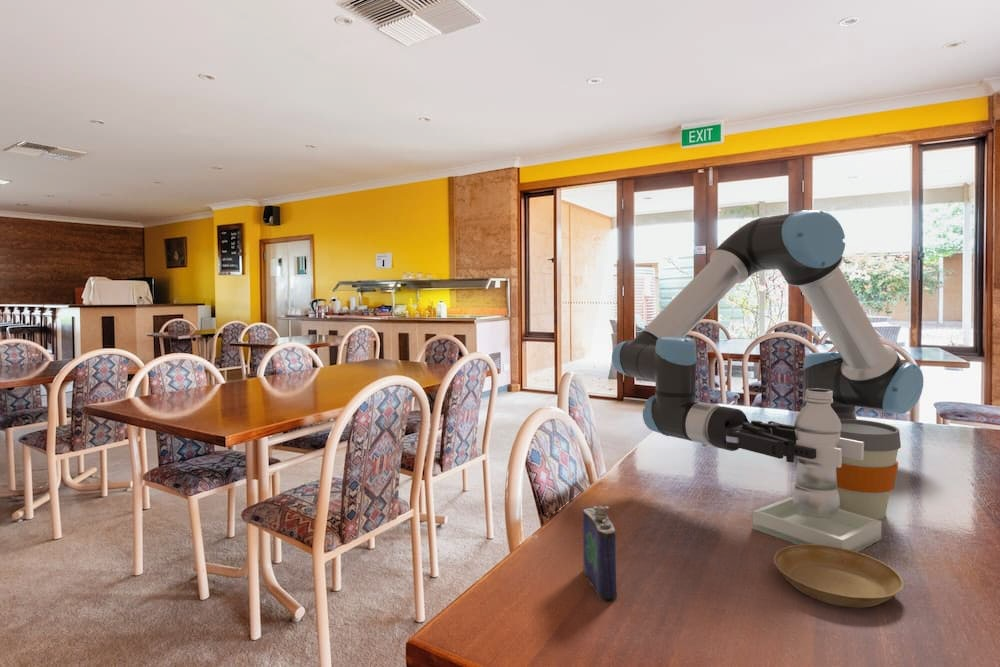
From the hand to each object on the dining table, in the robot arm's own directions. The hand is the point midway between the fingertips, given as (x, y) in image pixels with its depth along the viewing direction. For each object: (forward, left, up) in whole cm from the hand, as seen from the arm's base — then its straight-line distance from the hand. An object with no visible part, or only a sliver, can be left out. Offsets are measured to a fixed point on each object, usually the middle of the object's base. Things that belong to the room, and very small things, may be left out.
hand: (851, 454), depth 89 cm
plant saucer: (+14, +5, -14) cm, 21 cm away
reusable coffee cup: (-16, -6, -14) cm, 22 cm away
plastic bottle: (0, -5, -11) cm, 12 cm away
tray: (0, -5, -14) cm, 15 cm away
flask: (+39, -13, -14) cm, 44 cm away
